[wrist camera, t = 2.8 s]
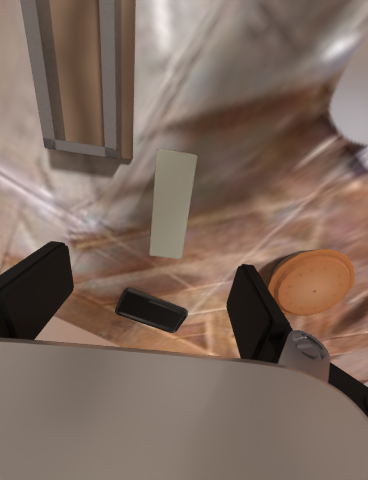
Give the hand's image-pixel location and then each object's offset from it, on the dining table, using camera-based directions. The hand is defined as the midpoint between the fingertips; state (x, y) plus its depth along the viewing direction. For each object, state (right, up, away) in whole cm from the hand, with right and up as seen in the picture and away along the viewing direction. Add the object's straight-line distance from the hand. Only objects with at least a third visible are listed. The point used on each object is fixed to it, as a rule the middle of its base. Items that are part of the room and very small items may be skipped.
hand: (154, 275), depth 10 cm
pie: (+25, -5, +28) cm, 38 cm away
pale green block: (0, +10, +20) cm, 23 cm away
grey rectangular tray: (-10, +26, +13) cm, 31 cm away
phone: (-5, -14, +32) cm, 35 cm away
